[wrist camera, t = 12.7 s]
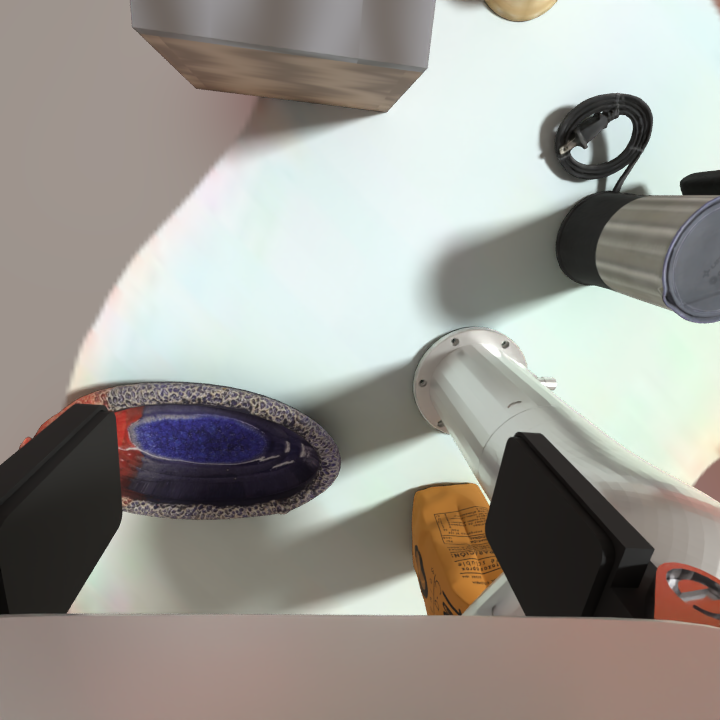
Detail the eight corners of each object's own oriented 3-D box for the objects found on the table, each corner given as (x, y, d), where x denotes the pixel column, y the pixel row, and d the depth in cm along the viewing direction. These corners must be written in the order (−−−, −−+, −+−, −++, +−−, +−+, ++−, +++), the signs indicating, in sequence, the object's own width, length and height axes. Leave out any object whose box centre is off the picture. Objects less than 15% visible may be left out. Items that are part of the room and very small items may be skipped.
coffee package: (398, 560, 56) (450, 769, 36) (408, 479, 52) (473, 663, 31) (473, 557, 57) (564, 757, 37) (488, 477, 53) (600, 654, 33)
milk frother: (595, 302, 47) (715, 347, 33) (487, 213, 42) (574, 222, 28) (694, 185, 43) (873, 180, 30) (589, 76, 39) (743, 9, 25)
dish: (327, 505, 52) (329, 535, 48) (46, 485, 47) (18, 516, 43) (349, 388, 47) (353, 408, 43) (37, 351, 42) (3, 370, 38)
